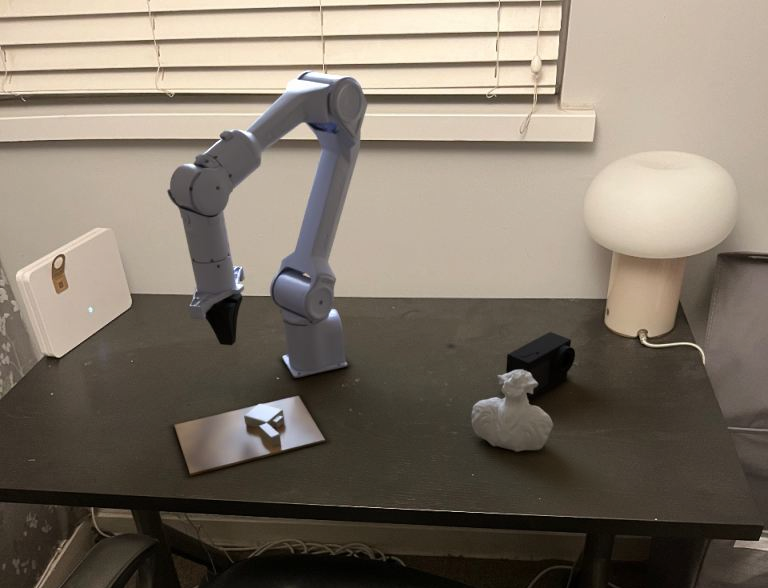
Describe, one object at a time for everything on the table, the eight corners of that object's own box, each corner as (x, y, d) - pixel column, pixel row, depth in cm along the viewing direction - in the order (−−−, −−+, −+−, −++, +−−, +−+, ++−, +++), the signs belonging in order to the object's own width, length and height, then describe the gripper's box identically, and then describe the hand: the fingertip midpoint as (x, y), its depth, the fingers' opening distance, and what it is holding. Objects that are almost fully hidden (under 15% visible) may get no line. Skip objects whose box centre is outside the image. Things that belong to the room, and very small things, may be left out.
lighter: (260, 402, 118) (302, 414, 115) (261, 412, 120) (304, 424, 116) (231, 425, 114) (274, 438, 110) (233, 435, 115) (276, 448, 112)
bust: (550, 460, 110) (571, 384, 109) (539, 456, 103) (561, 374, 102) (473, 441, 115) (492, 368, 114) (457, 436, 108) (478, 357, 107)
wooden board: (298, 397, 123) (298, 395, 123) (325, 441, 113) (324, 439, 113) (174, 426, 118) (174, 424, 118) (190, 475, 108) (189, 473, 108)
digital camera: (531, 406, 118) (534, 365, 113) (504, 393, 121) (506, 353, 117) (573, 381, 123) (577, 341, 119) (546, 370, 126) (549, 330, 122)
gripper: (214, 277, 103) (231, 367, 111) (256, 239, 114) (269, 324, 122) (167, 274, 105) (188, 363, 113) (213, 236, 115) (229, 320, 124)
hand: (227, 342), depth 118 cm, fingers closed
